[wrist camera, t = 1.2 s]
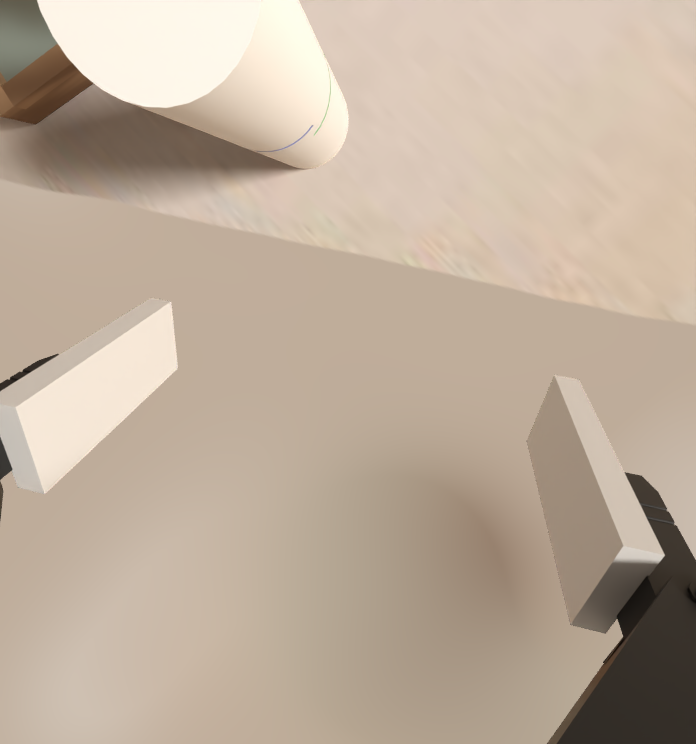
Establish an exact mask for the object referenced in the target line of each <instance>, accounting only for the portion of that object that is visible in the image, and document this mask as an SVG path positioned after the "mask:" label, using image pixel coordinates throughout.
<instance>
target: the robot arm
mask: <svg viewBox="0 0 696 744" xmlns="http://www.w3.org/2000/svg"><path fill="white" fill-rule="evenodd" d="M174 335H175V334H174V325H173V314H172V304H171V301H166V300H161V299H156V298H150V299H148V300H146V301H145V302H143V303H142V304H140V305H138V306H137V307H135V308H133V309H132V310H131V311H129V312H127V313H126V314H124V315H122V316H121V317H119V318H117V319H116V320H114V321H113V322H111V323H109V324H108V325H106V326H104V327H103V328H101V329H100V330H98V331H96V332H95V333H93V334H92V335H90V336H88V337H87V338H85V339H84V340H82V341H80V342H79V343H77V344H76V345H74V346H72V347H71V348H69V349H67V350H66V351H64V352H63V353H61V354H56V355H53V356H50V357H47V358H44V359H41V360H39V361H37V362H35V363H33V364H32V365H30V366H28V367H27V368H25V369H24V370H23V372H18V373H17V374H16V375H14V376H12V377H10V380H5V381H4V382H2V383H0V480H1V479H2V478H3V477H4V476H5V475H7V474H8V473H9V472H10V471H12V473H13V475H14V478H15V481H16V483H17V486H18V488H22V489H26V490H30V491H35V492H38V493H42V494H45V493H46V492H47V491H49V489H51V488H52V487H53V486H54V485H55V484H56V483H57V482H58V481H59V480H60V479H61V478H62V477H63V476H64V475H65V474H67V473H68V472H69V471H70V470H71V469H72V468H73V467H74V466H75V465H76V464H77V463H78V462H79V461H80V460H81V459H82V458H84V457H85V456H86V455H87V454H88V453H89V452H90V451H91V450H92V449H93V448H94V447H95V446H96V445H97V444H98V443H99V442H100V441H101V440H103V439H104V438H105V437H106V436H107V435H108V434H109V433H110V432H111V431H112V430H113V429H114V428H115V427H116V426H117V425H118V424H119V423H121V422H122V421H123V420H124V419H125V418H126V417H127V416H128V415H129V414H130V413H131V412H132V411H133V410H134V409H135V408H136V407H138V406H139V405H140V404H141V403H142V402H143V401H144V400H145V399H146V398H147V397H148V396H149V395H150V394H151V393H152V392H153V391H154V390H156V389H157V388H158V387H159V386H160V385H161V384H162V383H163V382H164V381H165V380H166V379H167V378H168V377H169V376H170V375H171V374H172V373H173V372H174V371H176V370H177V369H178V366H177V355H176V345H175V336H174ZM527 445H528V449H529V453H530V457H531V461H532V466H533V470H534V474H535V478H536V482H537V486H538V491H539V495H540V499H541V504H542V508H543V512H544V516H545V520H546V524H547V529H548V533H549V537H550V541H551V546H552V550H553V554H554V558H555V562H556V567H557V571H558V575H559V579H560V583H561V587H562V591H563V596H564V600H565V604H566V609H567V613H568V617H569V621H570V625H573V626H577V627H581V628H585V629H589V630H593V631H598V632H601V633H606V632H607V631H608V630H609V628H610V627H611V626H612V624H613V623H614V622H615V620H616V619H618V622H619V625H620V628H621V631H622V634H623V638H622V639H621V641H620V642H619V643H618V644H617V645H616V647H615V648H614V649H613V651H612V652H611V653H610V654H609V656H608V657H607V658H606V659H605V661H604V662H603V663H604V664H603V665H602V667H601V668H600V670H599V671H598V673H597V674H596V675H595V677H594V678H593V680H592V681H591V682H590V684H589V685H588V687H587V688H586V689H585V691H584V692H583V694H582V695H581V696H580V698H579V699H578V701H577V702H576V704H575V705H574V706H573V708H572V709H571V711H570V712H569V713H568V715H567V716H566V718H565V719H564V721H563V722H562V723H561V725H560V726H559V728H558V729H557V730H556V732H555V733H554V735H553V736H552V737H551V739H550V740H549V742H548V743H547V744H696V560H695V558H694V556H693V555H692V553H691V551H690V549H689V547H688V546H687V544H686V542H685V540H684V538H683V537H682V535H681V533H680V531H679V529H678V528H677V526H676V525H674V520H673V518H672V517H671V515H670V513H669V512H667V508H666V506H665V504H664V502H663V500H662V498H661V497H660V495H659V493H658V492H657V491H656V490H655V489H654V488H653V487H652V486H651V485H650V484H649V483H648V482H647V481H646V480H645V479H644V478H643V477H642V476H640V475H635V474H630V473H625V472H624V471H623V469H622V467H621V465H620V462H619V460H618V458H617V456H616V454H615V452H614V450H613V448H612V446H611V444H610V442H609V440H608V438H607V436H606V434H605V432H604V430H603V428H602V426H601V424H600V422H599V420H598V418H597V415H596V414H595V411H594V409H593V407H592V405H591V403H590V401H589V399H588V397H587V395H586V393H585V391H584V389H583V387H582V385H581V383H580V381H579V380H578V379H573V378H568V377H562V376H557V375H554V377H553V379H552V382H551V384H550V387H549V389H548V391H547V394H546V396H545V398H544V401H543V403H542V405H541V408H540V410H539V413H538V415H537V418H536V420H535V422H534V425H533V427H532V429H531V432H530V434H529V437H528V439H527ZM2 498H3V488H2V485H1V482H0V518H1V508H2Z"/></svg>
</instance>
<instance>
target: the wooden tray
mask: <svg viewBox="0 0 696 744" xmlns="http://www.w3.org/2000/svg"><path fill="white" fill-rule="evenodd" d="M92 84H93V82H92V81H90V80H89V79H88V78H87V77H85V76H84V75H83V74H82V73H81V72H80V71H79V70H78V69H77V68H76V66H75V65H74V64H73V63H72V62H71V61H70V60H69V59H68V58H67V56H66V55H65V53H64V52H63V51H62V49H61V48H60V46H59V45H58V43H57V42H56V40H55V39H54V37H53V36H52V34H51V32H50V30H49V27H48V25H47V23H46V21H45V19H44V17H43V15H42V13H41V11H40V8H39V5H38V2H37V0H0V116H1V117H5V118H9V119H14V120H18V121H23V122H27V123H31V124H37V123H38V122H40V121H41V120H42V119H44V118H45V117H47V116H48V115H49V114H51V113H52V112H54V111H55V110H57V109H58V108H59V107H61V106H62V105H64V104H65V103H66V102H68V101H69V100H71V99H72V98H73V97H75V96H76V95H78V94H79V93H80V92H82V91H83V90H85V89H86V88H87V87H89V86H90V85H92Z"/></svg>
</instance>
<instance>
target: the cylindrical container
mask: <svg viewBox="0 0 696 744" xmlns="http://www.w3.org/2000/svg"><path fill="white" fill-rule="evenodd" d="M37 2H38V5H39V8H40V11H41V13H42V15H43V17H44V19H45V21H46V23H47V25H48V27H49V30H50V32H51V34H52V36H53V37H54V39H55V40H56V42H57V43H58V45H59V46H60V48H61V49H62V51H63V52H64V53H65V55H66V56H67V58H68V59H69V60H70V61H71V62H72V63H73V64H74V65H75V66H76V68H77V69H78V70H79V71H80V72H81V73H82V74H83V75H84V76H85V77H87V78H88V79H89V80H90V81H92V82H93V83H94V84H95V85H97V86H98V87H99V88H100V89H102V90H103V91H105V92H107V93H109V94H111V95H113V96H115V97H117V98H119V99H121V100H123V101H125V102H127V103H130V104H133V105H135V106H138V107H140V108H143V109H146V110H148V111H151V112H154V113H156V114H159V115H161V116H164V117H167V118H169V119H172V120H174V121H177V122H180V123H182V124H185V125H187V126H190V127H193V128H195V129H198V130H200V131H203V132H206V133H208V134H211V135H213V136H216V137H218V138H221V139H223V140H226V141H228V142H231V143H233V144H236V145H239V146H241V147H244V148H246V149H249V150H251V151H254V152H257V153H259V154H262V155H265V156H267V157H270V158H272V159H275V160H278V161H280V162H283V163H285V164H288V165H290V166H293V167H297V168H301V169H310V168H316V167H319V166H321V165H324V164H325V163H327V162H328V161H330V160H331V159H332V158H333V157H334V156H335V155H336V154H337V153H338V151H339V150H340V148H341V147H342V145H343V143H344V141H345V138H346V135H347V130H348V118H349V117H348V110H347V105H346V102H345V99H344V96H343V94H342V92H341V90H340V88H339V86H338V84H337V81H336V79H335V77H334V75H333V73H332V71H331V69H330V66H329V64H328V62H327V60H326V58H325V56H324V54H323V51H322V49H321V47H320V45H319V43H318V41H317V39H316V36H315V34H314V32H313V30H312V28H311V26H310V24H309V21H308V19H307V17H306V15H305V13H304V11H303V9H302V6H301V4H300V2H299V0H37Z"/></svg>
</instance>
